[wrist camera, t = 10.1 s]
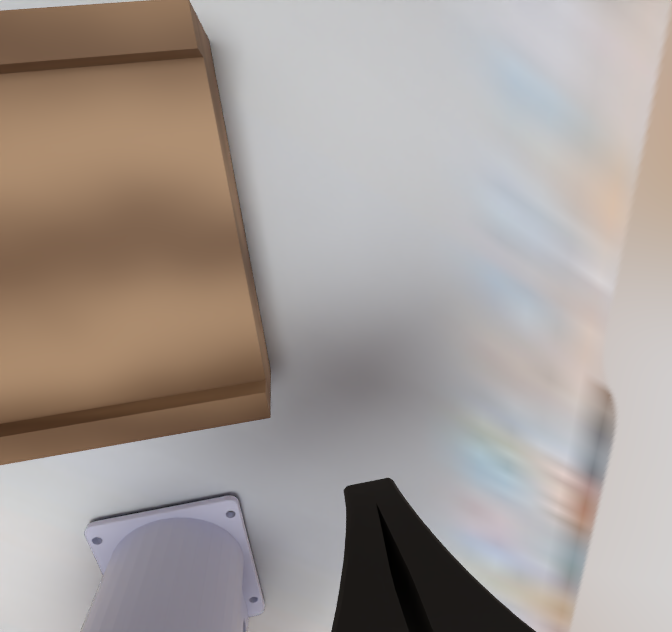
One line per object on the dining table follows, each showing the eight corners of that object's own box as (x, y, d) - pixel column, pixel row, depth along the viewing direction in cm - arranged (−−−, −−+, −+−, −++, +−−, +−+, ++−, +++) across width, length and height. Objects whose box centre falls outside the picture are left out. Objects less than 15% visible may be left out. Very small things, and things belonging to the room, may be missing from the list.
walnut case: (270, 370, 20) (270, 417, 16) (-80, 428, 18) (-168, 494, 15) (208, 39, 15) (188, -2, 11) (-284, 78, 13) (-500, 45, 10)
